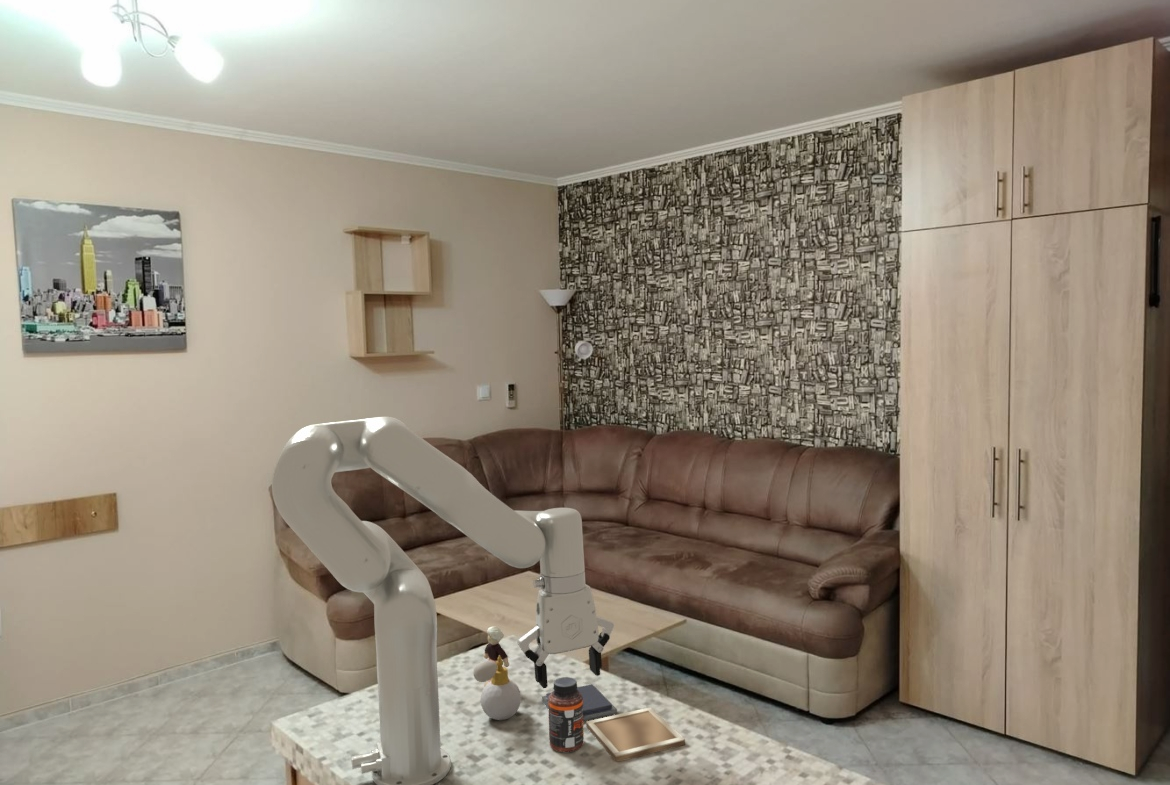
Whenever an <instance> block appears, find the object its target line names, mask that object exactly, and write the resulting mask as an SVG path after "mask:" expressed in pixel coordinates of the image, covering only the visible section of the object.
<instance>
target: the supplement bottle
mask: <svg viewBox="0 0 1170 785" xmlns="http://www.w3.org/2000/svg"><path fill="white" fill-rule="evenodd" d="M577 682H578V681H577V680H576V679H575V678H574V677H570V676H562V677H558V678H556V679H554V681H553V691H552V692H550V693H551V694H550V695H549V700H548V702H549V710H548V730H549V731H548V732H549V734H548V737H549V746H550V748H552V749H553V750H554V751H556V752H559V753H573V752H575V751H578V750H580V749H581V748H582V747H583V745H584V737H585V735H584V722H583V697H582V694H581V693H580V692H579V691H578V690H577V687H578V683H577Z"/></svg>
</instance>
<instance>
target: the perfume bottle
mask: <svg viewBox="0 0 1170 785" xmlns="http://www.w3.org/2000/svg"><path fill="white" fill-rule="evenodd" d="M501 659H502V658H501V657H500V655H499V656H498V661H497V662H496V663H495V662H493V661H489V660H483V661H480V662H478V663H477V664H476V665H475V666H474V668H473V672H472V673H473V677H474V679H475V680H476V681H478V682H479V683H486V682H488V680H490V679H491V678H492V680H491V681H490V682H489V683H487V684H486V686H485V687H483V688H482V691H481V694H480V706H481V708H482V710H483V712H484V713H485V715H486V716H487V717H489V718H490V719H493V720H496V721H503V720H507V719H510V718H511V717H513V716H514V715H516V713H517V712H518V710H519V709H520V706H521V703H522V702H521V701H522V696H521V694H522V693H521V690H520V689H519V688H520V687H519V686H518V685H517V684H516V683H515V682H514V681H513V680H512V679H510V678H509V676H508V675H509V674H508V673H509V672H508V667H505V666H503V665H504V662H503V660H501ZM497 666H498V667H497Z"/></svg>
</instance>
